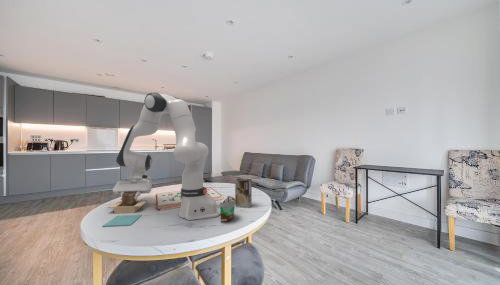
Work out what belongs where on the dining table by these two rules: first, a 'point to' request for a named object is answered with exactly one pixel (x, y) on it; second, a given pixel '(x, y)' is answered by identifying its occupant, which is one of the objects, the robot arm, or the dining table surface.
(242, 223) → the dining table surface
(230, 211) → the food container
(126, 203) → the block
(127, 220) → the board
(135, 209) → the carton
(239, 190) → the coffee box
